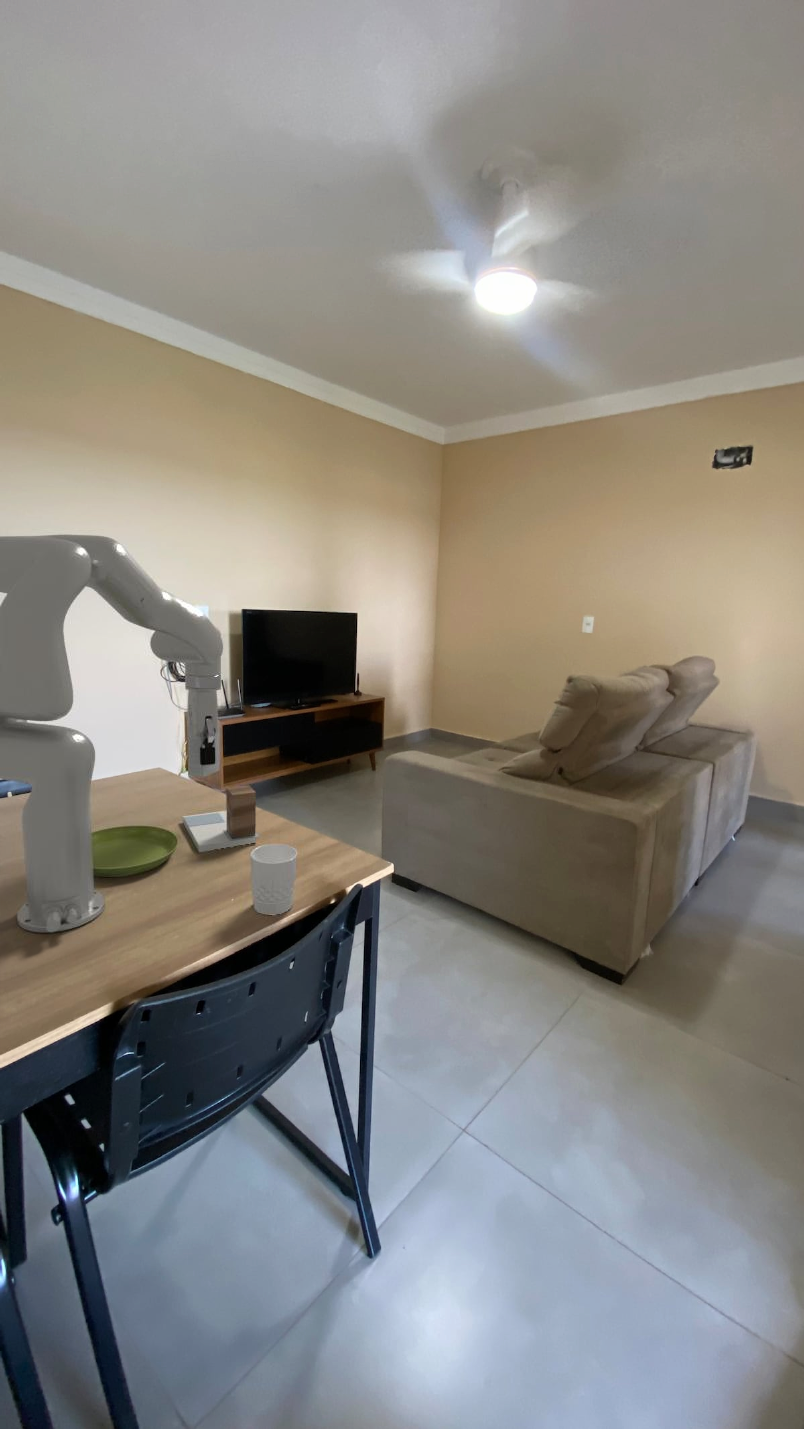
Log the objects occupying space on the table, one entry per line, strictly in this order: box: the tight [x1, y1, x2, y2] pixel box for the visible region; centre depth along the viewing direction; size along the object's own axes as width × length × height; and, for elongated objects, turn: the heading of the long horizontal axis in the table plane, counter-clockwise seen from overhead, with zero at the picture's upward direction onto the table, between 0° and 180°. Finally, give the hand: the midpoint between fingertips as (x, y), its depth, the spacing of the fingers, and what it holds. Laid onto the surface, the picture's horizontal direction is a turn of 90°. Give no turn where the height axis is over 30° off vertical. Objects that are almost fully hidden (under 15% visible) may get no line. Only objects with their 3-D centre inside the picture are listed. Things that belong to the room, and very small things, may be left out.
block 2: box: [226, 810, 257, 839], centre depth 130 cm, size 5×5×5 cm
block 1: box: [225, 784, 257, 817], centre depth 129 cm, size 5×5×5 cm
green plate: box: [91, 825, 180, 878], centre depth 118 cm, size 21×21×3 cm
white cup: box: [250, 843, 298, 916], centre depth 103 cm, size 8×8×10 cm
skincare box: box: [187, 720, 221, 778], centre depth 133 cm, size 6×4×12 cm
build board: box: [182, 810, 261, 853], centre depth 134 cm, size 18×13×2 cm
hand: (203, 759), depth 134 cm, fingers closed on skincare box, 6 cm apart
